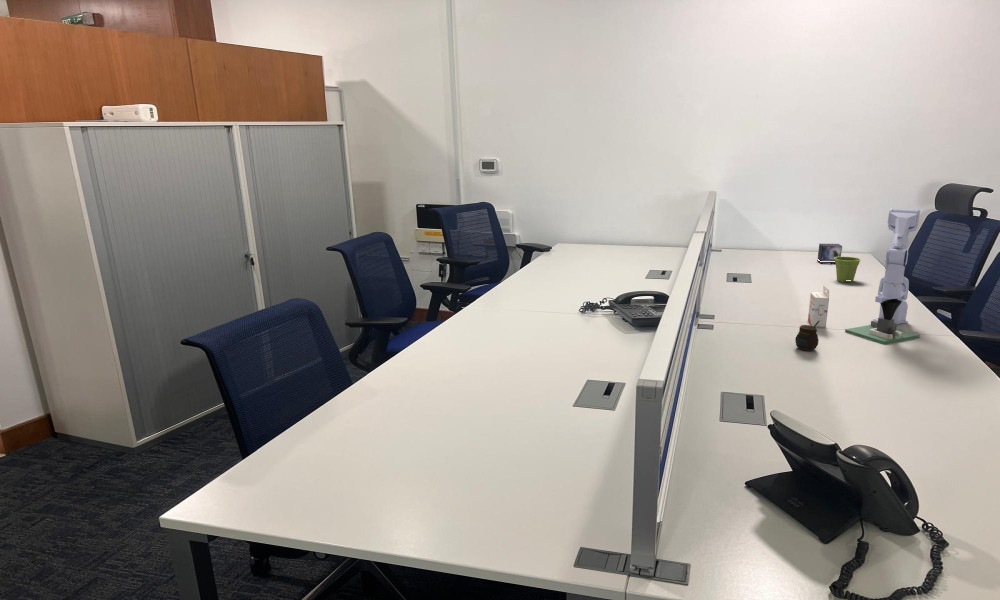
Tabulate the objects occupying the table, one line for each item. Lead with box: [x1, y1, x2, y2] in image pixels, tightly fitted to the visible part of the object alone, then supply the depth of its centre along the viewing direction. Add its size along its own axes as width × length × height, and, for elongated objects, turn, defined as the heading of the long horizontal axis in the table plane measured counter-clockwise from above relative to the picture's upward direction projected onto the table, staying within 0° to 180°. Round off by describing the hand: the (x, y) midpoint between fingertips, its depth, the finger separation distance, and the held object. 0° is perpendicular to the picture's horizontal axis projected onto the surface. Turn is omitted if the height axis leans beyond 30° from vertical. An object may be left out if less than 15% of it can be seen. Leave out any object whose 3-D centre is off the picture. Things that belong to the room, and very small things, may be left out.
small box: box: [816, 243, 843, 264], centre depth 360 cm, size 11×6×10 cm, turn 80°
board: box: [844, 319, 920, 345], centre depth 237 cm, size 18×16×3 cm
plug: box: [877, 317, 896, 337], centre depth 233 cm, size 3×6×6 cm, turn 27°
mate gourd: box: [794, 321, 820, 352], centre depth 222 cm, size 7×8×10 cm
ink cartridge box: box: [807, 285, 830, 328], centre depth 250 cm, size 9×5×15 cm, turn 168°
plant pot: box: [834, 256, 862, 283], centre depth 318 cm, size 12×12×11 cm
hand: (887, 319), depth 232 cm, fingers closed, pressing on plug
